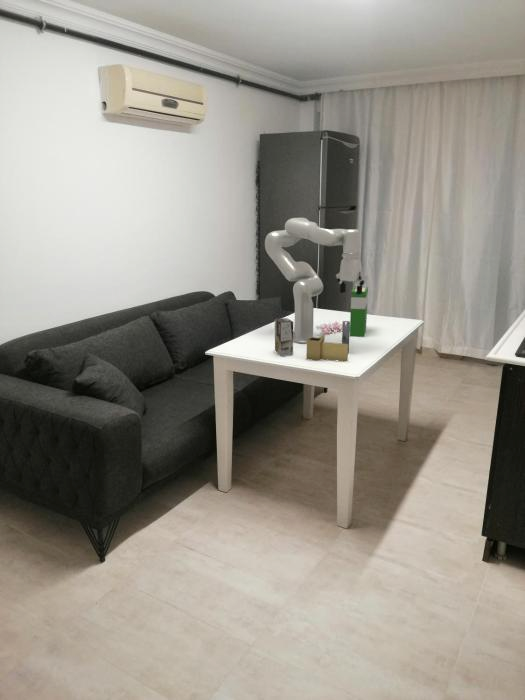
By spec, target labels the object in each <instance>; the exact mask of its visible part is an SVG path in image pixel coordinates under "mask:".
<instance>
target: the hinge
mask: <svg viewBox="0 0 525 700" xmlns="http://www.w3.org/2000/svg"><path fill="white" fill-rule="evenodd" d="M325 337H326V335H325V333H322V334H320V336H318V337H314V336H313V337H310V338H309V339H308V340H307V343H306V360H307V359H312V360H311V361H317V360H320V361H321V360H324V359H328V360H327V361H334V360H338V361H337V362H344V361H347V362H348V361H349V360H348V359H349V358H348V355H349V353H348V344H342V342H341V343H340V342H329V341H325Z"/></svg>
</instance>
